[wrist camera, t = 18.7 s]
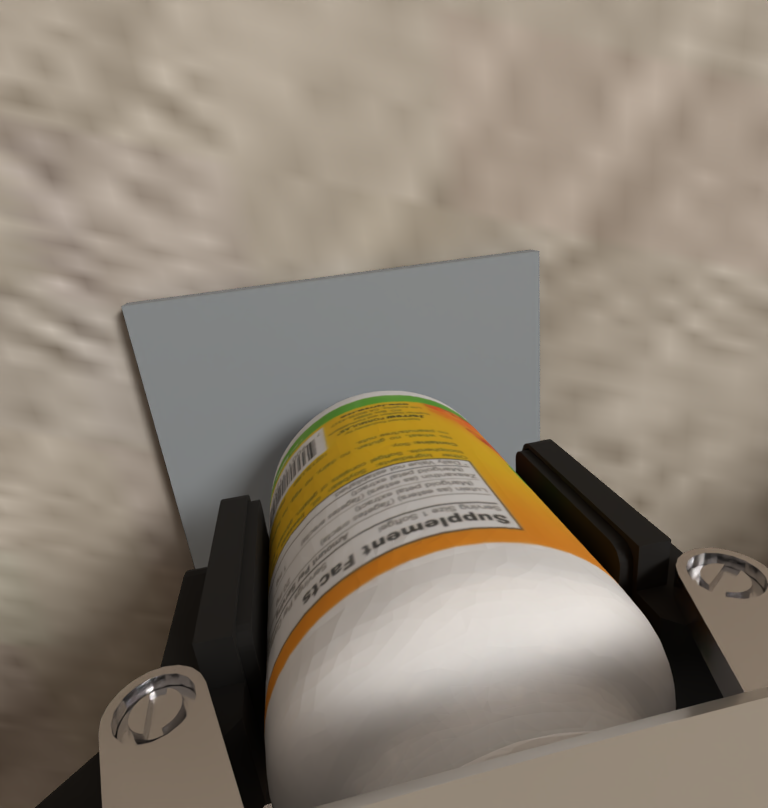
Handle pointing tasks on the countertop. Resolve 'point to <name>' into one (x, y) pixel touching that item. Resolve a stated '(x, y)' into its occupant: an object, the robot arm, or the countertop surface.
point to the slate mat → (331, 366)
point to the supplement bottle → (431, 609)
